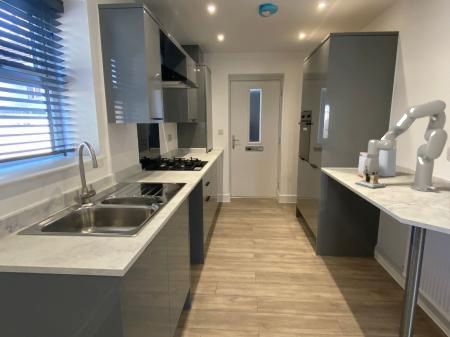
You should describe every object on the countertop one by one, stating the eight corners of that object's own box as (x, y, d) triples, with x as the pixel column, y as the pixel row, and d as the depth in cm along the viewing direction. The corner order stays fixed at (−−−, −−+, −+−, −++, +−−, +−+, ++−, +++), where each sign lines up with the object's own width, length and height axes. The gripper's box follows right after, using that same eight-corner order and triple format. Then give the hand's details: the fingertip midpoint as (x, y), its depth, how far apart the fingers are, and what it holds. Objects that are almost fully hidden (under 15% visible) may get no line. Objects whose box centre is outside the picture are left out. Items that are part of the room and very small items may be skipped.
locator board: (385, 187, 186) (386, 183, 186) (371, 188, 182) (372, 185, 182) (368, 182, 200) (368, 179, 200) (355, 184, 196) (355, 180, 196)
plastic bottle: (383, 177, 219) (387, 144, 214) (369, 174, 234) (372, 143, 229) (397, 176, 223) (401, 144, 218) (382, 173, 238) (386, 142, 232)
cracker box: (372, 179, 212) (375, 154, 208) (365, 179, 212) (368, 154, 208) (364, 175, 226) (366, 152, 222) (357, 175, 226) (359, 152, 222)
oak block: (367, 180, 196) (368, 173, 195) (377, 183, 187) (378, 175, 186) (362, 181, 194) (363, 173, 193) (373, 184, 186) (373, 175, 185)
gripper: (377, 155, 194) (374, 179, 197) (359, 156, 188) (357, 181, 191) (386, 157, 187) (383, 181, 190) (368, 158, 181) (365, 183, 184)
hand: (370, 181), depth 191 cm, fingers closed on oak block, 4 cm apart
